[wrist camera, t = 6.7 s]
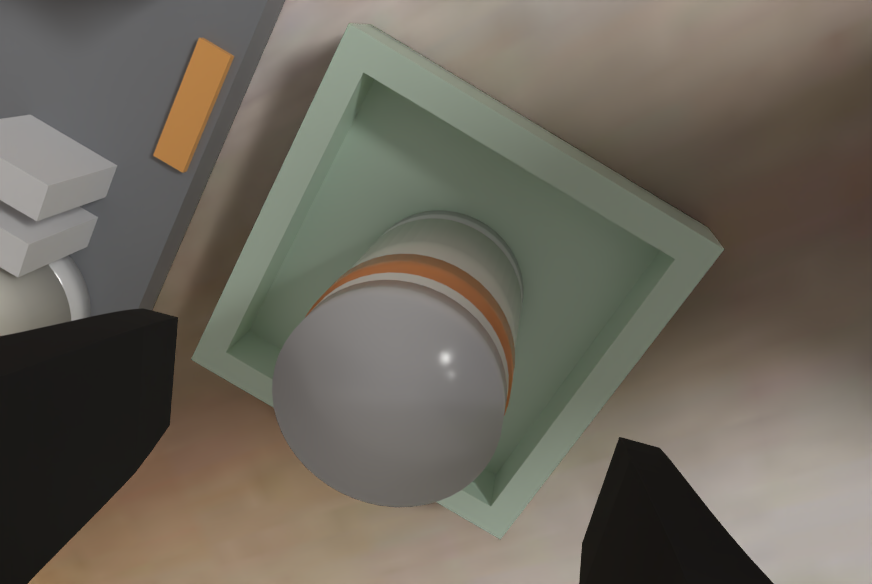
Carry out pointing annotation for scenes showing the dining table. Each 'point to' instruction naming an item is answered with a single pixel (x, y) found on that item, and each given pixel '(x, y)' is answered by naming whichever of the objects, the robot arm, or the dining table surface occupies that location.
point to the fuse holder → (116, 130)
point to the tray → (485, 201)
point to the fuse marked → (405, 363)
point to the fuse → (43, 297)
